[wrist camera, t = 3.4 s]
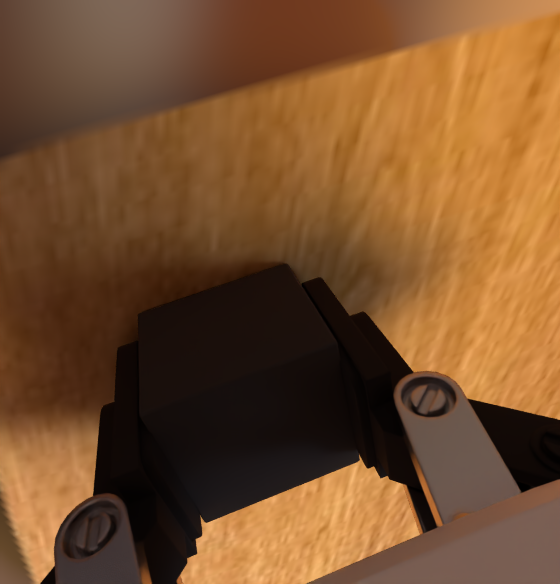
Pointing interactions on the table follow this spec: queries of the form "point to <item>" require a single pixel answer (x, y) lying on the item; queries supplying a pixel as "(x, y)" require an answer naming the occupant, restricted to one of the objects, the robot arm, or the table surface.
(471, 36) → the table surface
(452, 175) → the table surface
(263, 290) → the black block
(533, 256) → the table surface
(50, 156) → the table surface
